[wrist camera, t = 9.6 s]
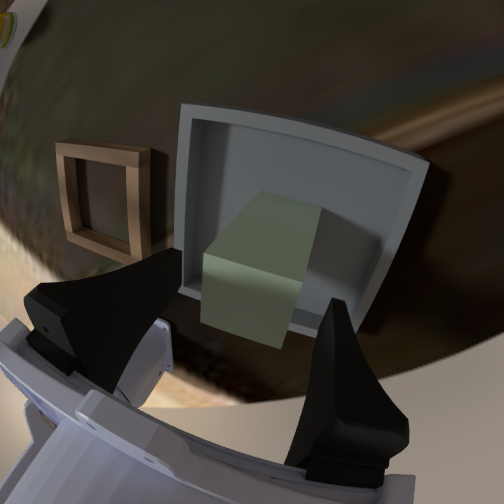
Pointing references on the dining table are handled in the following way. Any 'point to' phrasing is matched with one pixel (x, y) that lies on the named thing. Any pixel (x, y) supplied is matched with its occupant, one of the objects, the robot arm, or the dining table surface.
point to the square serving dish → (2, 5)
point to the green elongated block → (259, 268)
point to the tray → (296, 198)
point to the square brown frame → (136, 197)
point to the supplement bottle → (7, 28)
